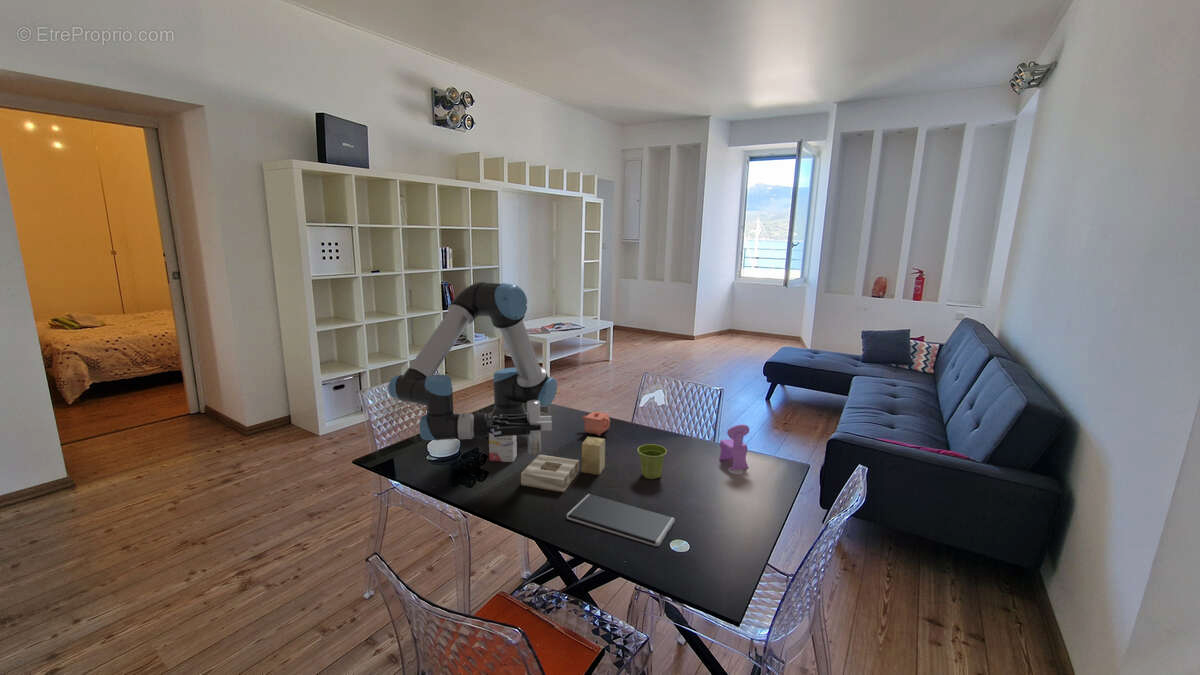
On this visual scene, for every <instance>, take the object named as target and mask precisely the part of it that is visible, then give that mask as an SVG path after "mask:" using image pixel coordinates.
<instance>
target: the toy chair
mask: <svg viewBox="0 0 1200 675" xmlns="http://www.w3.org/2000/svg"><path fill="white" fill-rule="evenodd" d="M726 433H727V436H728V439H720V441H719V447H720V453H719V458H718V460H719V461H723V460H725V461H726V460H731V459H733V462H732V468H731V471H737V470H743V469H749V466H748V463H747V459H746V458H747V453H748V444H746V443H744V442H743V441H744V440H743V439H744V437H745V436H747V435H748V434H749V433H750V426H748V425H747V424H737V425H733V426H732V427H730V428H728V429H727V431H726Z"/></svg>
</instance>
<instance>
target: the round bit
mask: <svg viewBox="0 0 1200 675" xmlns="http://www.w3.org/2000/svg"><path fill="white" fill-rule="evenodd" d="M526 414H527V423H529V424H530V422H540V416H541V406H540V401H538V400H530V401H527V404H526ZM541 432H542V431H530V434H529V435H528V434H527V452H528V454H531V455H532V454H533V455H536V454H539V453H541V451H542V444H541V443H542V440H541V439H542V438H541V437H542V436H541V435H542V434H541Z"/></svg>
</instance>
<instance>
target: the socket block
mask: <svg viewBox="0 0 1200 675" xmlns="http://www.w3.org/2000/svg"><path fill="white" fill-rule="evenodd" d="M579 472H580V460H579V459H572V458H567V457H566V458H565V457H558V456H552V455H545V454H538V455H537V456H536V457H535V459H534V460H532V461H531V462H530V464H528V466H526V468H524V470H523V471H522V472H520V486H525V487H530V488H537V489H543V490H548V491H555V492H558V493H559V492H561V493H565V491H566V489H567V488H569V485H570V484H571V483H572V482H573V480H574V479H575V478H576V476H578V474H579Z"/></svg>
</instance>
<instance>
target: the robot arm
mask: <svg viewBox="0 0 1200 675" xmlns="http://www.w3.org/2000/svg"><path fill="white" fill-rule="evenodd" d="M527 304H528V297H527V295H526V292H525V291H524V290H523V288H521V287H520V286H519V285H517V284H511V283H507V282H506V283H505V282H502V283H497V282H496V283H494V282H483V281H482V282H481V281H479V282H476V283H473V284H471V285H468V286H467V287H466V288H464V289H463V290H462V291H460V293H458V294H457V295H456V296H455V297H454V298H453V300H452V301H451V302H450V303H449V305H448V307H447V311H448V312H447V313H446V315H444V317H443V319H442V320H441V321H440V323H439V324H438V326H437V327H436V329H435V330H434V332H433V333H432V334H431V335H430V337H429V339H428V340H427V341H426V342H425V344H424V346H423V347H422V348H421V349H420V351H419V353H418V354H417V355H416V357H415V358H414V359H413V361H412V362H411V364H410V365H409V366H408V368H407V370H406V371H405V372H404V374H398V375H395V376H394V377H392V378H391V379H390V381H389V382H388V387H387V389H388V394H389V395H390V396H391V397H392V398H393V399H396V400H398V401H402V402H408V403H414V404H417V405H422V406H426V414H423V415H422V416H421V417H420V420H419V435H420V437H421V439H422V440H425V441H442V440H443V441H444V440H468V439H469V440H472V439H473V438H474V439H486V438H488V437H489V433H494V437H500V436H513V435H516V436H528V435H529V434H530V431H541V432H546V431H553V421H552V418H553V417H552V415H540V422H530V424H529V423H527V410H526V408H525V406H524V404H526V405H527V401H530V400H538V401H540V407H541V408H542V407H543V408H544V407H548V406H550V405H551V404H552V403H553V402H554V401H555V400H554V399H555V397H556V395H557V390H558V383H557V380H556V379H555V377H553V376H550V377H549V376H548V373H547V371H546V369H545V367H542V366H540V363H539V361H538V358H537V355H536V352H535V350H534V347H533V344H532V342H531V339H530V336H529V334H528V331H527V329H526V326H525V323H524V320H525V317H526V316H525V315H526V313H527V310H528V305H527ZM481 316H482V317H489V318H490V321H491V323H492V326H493V327H494V328H495V329H499V331H500V334H501V336H502V337H503V341H504V343H505V345H506V348H507V350H508V352H509V353H508V354H509V355H510V358H511V359H512V362H513V365H514V367H506V368H501V369H499V370H497V371H496V370H495V371H494V373H493V381H492V383H493V400H494V401H493V402H494V407H493V410H492V413H491V417H490V418H489V415H488V413H486V412H481V413H480V412H476V413H475V414H473V413H466V412H462V413H454V395H453V393H454V392H453V384H452V378H451V377H450V376H449V375H447V374H435V373H436V372H437V370H438V369H439V367H440V366H441V364H442V363H443V361H444V359H445V358H446V357H447V356H448V354H449V353H450V351H451V349H452V348H453V347H454V345H455V344H456V342H457V340H458V339H459V338H460V337H461V334H462V333H463V332H464V330H466V328H467V326H468V325H471V324H473V322H474V320H475V319H476V318H478V317H481ZM493 416H497V417H494V418H493Z"/></svg>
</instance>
